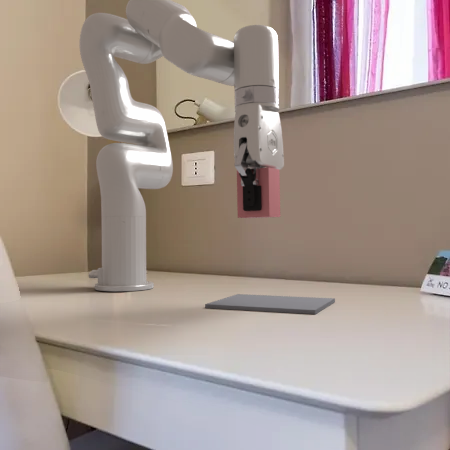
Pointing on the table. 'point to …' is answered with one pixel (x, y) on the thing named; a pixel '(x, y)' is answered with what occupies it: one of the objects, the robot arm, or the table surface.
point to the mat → (272, 303)
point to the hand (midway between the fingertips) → (259, 209)
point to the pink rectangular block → (262, 195)
